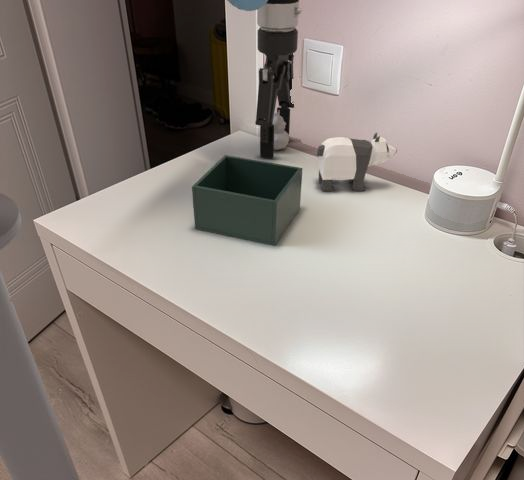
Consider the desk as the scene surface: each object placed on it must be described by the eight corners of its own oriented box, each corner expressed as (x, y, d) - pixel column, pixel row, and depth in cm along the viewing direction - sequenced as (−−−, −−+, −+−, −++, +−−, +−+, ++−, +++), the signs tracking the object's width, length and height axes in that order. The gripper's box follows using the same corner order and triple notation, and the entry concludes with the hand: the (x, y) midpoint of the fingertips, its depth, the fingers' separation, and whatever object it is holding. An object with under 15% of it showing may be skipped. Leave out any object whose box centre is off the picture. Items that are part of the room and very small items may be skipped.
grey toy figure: (293, 150, 113) (295, 111, 108) (265, 156, 111) (266, 116, 106) (281, 141, 117) (283, 103, 112) (254, 146, 115) (254, 107, 109)
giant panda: (316, 192, 99) (321, 141, 93) (312, 179, 103) (316, 129, 97) (393, 190, 100) (403, 139, 94) (386, 178, 104) (395, 128, 98)
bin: (194, 228, 89) (191, 186, 84) (226, 194, 98) (224, 154, 93) (275, 245, 86) (276, 202, 80) (299, 208, 95) (302, 167, 90)
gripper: (277, 43, 90) (274, 171, 105) (314, 17, 106) (306, 132, 121) (236, 39, 92) (239, 165, 107) (278, 14, 107) (275, 127, 123)
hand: (274, 147), depth 114 cm, fingers open, 9 cm apart
